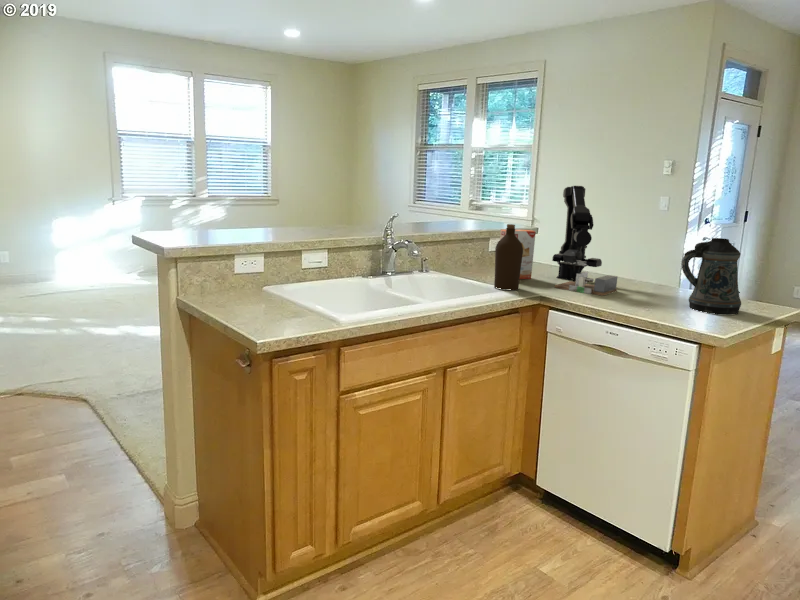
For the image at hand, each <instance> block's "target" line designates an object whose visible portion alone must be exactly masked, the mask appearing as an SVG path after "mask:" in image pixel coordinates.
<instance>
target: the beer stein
mask: <svg viewBox="0 0 800 600" xmlns="http://www.w3.org/2000/svg"><path fill="white" fill-rule="evenodd" d="M740 257H741V251H740V250H738V248H737V247H735V246H734V245H733V244H732V243H731V242H730V240H729V239H728V238H721V237H720V238H719V237H713V238H711V240H709V241H704V242H703V241H701V242H698V243H696V244H695V246H694V249H691V250H688V251H686V252H685V253H684V254H683V257H682V260H681V269H682V272H683V274H684V276H685V278H686V279H687V280H688V282H689V283H690V284H691V285H692V286H693V287H694V288H693V290H692V292H691V294H690V295H689V296H688V304H689V305H688V306H689V307H690V309H691V308H692V309H691V310H693V309H694V310H693V311H696V310H698V311H697V312H700V311H702V312H701V313H704V312H707V313H706V314H710V313H715V314H714V315H718V314H735V315H737V314H736V313H739V312H740V311H739V310H741V306H742V300H741V298H740V297H741V296H740V291H739V276H738V275H739V274H738V272H739V270H738V269H739V268H738V263H739V262H738V261H739V259H740ZM694 258H696V259H697V258H699V259H701V263H700V266H699V269H698V272H697V277H695V276H694V274H693V273H692V272H691V268H690V266H689V263H690V261H691V260H692V259H694Z"/></svg>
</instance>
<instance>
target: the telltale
mask: <svg viewBox="0 0 800 600" xmlns="http://www.w3.org/2000/svg"><path fill="white" fill-rule="evenodd" d="M584 286H585V277H580V278H579V287H584Z"/></svg>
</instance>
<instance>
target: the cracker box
mask: <svg viewBox="0 0 800 600" xmlns="http://www.w3.org/2000/svg"><path fill="white" fill-rule="evenodd" d="M536 232H537V231H535V230H532V229H515V236H516V237H517V238H518V240H519V241H520V242H521V244H522V246H523V255H522V263H521V270H520V278H519V280H531V279H532V271H533V264H534V263H533V262H534V254H535V253H534V252H535V243H536V242H535V241H536ZM505 235H506V228H505V229H500V235H499V236H500V237H499V241H500V240H501V239H502V238H503V237H504V236H505Z"/></svg>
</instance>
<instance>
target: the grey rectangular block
mask: <svg viewBox="0 0 800 600" xmlns="http://www.w3.org/2000/svg"><path fill="white" fill-rule="evenodd" d="M594 285H595V286H594V291H596V292H602V293H605V292H608V291H611V290H614V289H617V285H618V276H616V275H610V274H608V275H603V276H599V277H595V278H594Z"/></svg>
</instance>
